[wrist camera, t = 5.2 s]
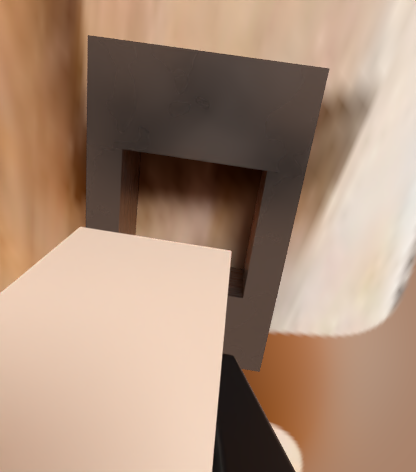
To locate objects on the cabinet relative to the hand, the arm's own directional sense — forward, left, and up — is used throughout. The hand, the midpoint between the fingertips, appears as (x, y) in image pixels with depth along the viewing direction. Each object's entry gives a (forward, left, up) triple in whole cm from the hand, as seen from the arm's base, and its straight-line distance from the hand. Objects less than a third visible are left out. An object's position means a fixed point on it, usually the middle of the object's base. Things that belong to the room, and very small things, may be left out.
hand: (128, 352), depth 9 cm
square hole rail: (0, 0, -11) cm, 11 cm away
